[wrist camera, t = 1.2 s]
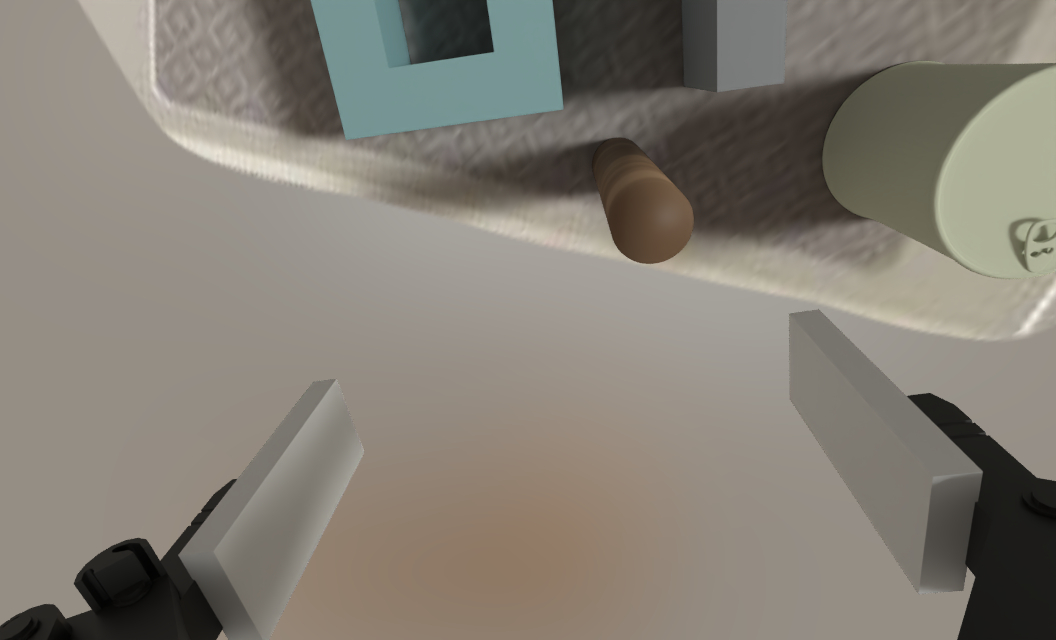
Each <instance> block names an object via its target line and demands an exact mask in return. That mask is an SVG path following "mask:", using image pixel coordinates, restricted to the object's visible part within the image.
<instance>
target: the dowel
mask: <svg viewBox="0 0 1056 640" xmlns="http://www.w3.org/2000/svg"><path fill="white" fill-rule="evenodd" d="M592 169H593V173H594V177H595V180H596V183H597V187H598V190H599V194H600V197H601V200H602V204H603V207H604V211H605V214H606V217H607V221H608V224H609V228H610V231H611V234H612V238H613V241H614V243H615V245H616V246H617V248H618V249H619V250H620V252H621V253H622V254H624V255H625V256H626V257H628V258H629V259H631V260H633V261H636V262H639V263H646V264H653V263H659V262H663V261H666V260H668V259H670V258H672V257H673V256H675V255H676V254H677V253H679V252H680V251H681V250H682V249H683V248H684V246H685V245H686V244H687V242H688V241H689V238H690V236H691V234H692V231H693V225H694V216H693V211H692V208H691V205H690V203H689V201H688V200H687V198H686V197H685V196H684V195H683V194H682V193H681V191H680V190H679V189H678V188H677V187H676V186H675V185H674V184H673V183H672V182H671V181H670V180H669V179H668V178H667V177H666V176H665V175H664V173H663V172H662V171H661V170H660V169H659V168H658V167H657V166H656V165H655V164H654V163H653V162H652V161H651V160H650V159H649V158H648V157H647V155H646V154H645V153H644V152H643V151H642V150H641V149H640V148H639V147H638V146H637V145H636V144H635V143H634V142H632V141H631V140H629V139H626V138H612V139H609V140H607V141H605V142H604V143H603V144H601V145H600V146H599V148H598V149H597V150H596V152H595V154H594V157H593V161H592Z"/></svg>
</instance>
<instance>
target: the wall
mask: <svg viewBox="0 0 1056 640" xmlns="http://www.w3.org/2000/svg"><path fill="white" fill-rule="evenodd" d="M786 23H787V0H682V30H683V72H684V87H690V88H695V89H701V90H707V91H713V92H723V91H730V90H737V89H744V88H751V87H758V86H766V85H773V84H780V83H784V71H785V47H786Z"/></svg>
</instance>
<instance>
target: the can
mask: <svg viewBox="0 0 1056 640" xmlns="http://www.w3.org/2000/svg"><path fill="white" fill-rule="evenodd" d="M822 165H823V173H824V177H825V180H826V183H827V185H828V188H829V190H830V191H831V193H832V195H833V196H834V197H835V199H836V200H837V201H838V202H839V203H840V204H841V205H842V206H843V207H845V208H846V209H848V210H849V211H851V212H852V213H854V214H856V215H859V216H862V217H865V218H869V219H873V220H875V221H877V222H880V223H882V224H884V225H886V226H888V227H890V228H892V229H894V230H896V231H898V232H900V233H902V234H904V235H906V236H908V237H910V238H912V239H914V240H916V241H918V242H921V243H922V244H924V245H926V246H928V247H930V248H932V249H934V250H936V251H938V252H940V253H942V254H944V255H946V256H947V257H949V258H951V259H953V260H955V261H956V262H957V263H958V264H960V265H962V266H963V267H965V268H966V269H968V270H970V271H973V272H975V273H978V274H981V275H984V276H988V277H993V278H1000V279H1025V278H1033V277H1039V276H1043V275H1047V274H1050V273H1054V272H1056V63H1040V64H944V63H940V62H934V61H914V62H908V63H903V64H900V65H896V66H894V67H891V68H888V69H886V70H884V71H882V72H880V73H878V74H876V75H875V76H873V77H871V78H870V79H869V80H867V81H866V82H864V83H863V84H862V85H861V86H859V87H858V88H857V89H856V90H855V91H854V92H853V93H852V94H851V95H850V96H849V97H848V98H847V99H846V101H845V102H844V103H843V104H842V106H841V107H840V108H839V110H838V111H837V113H836V115H835V116H834V118H833V120H832V122H831V124H830V126H829V129H828V132H827V134H826V138H825V142H824V146H823V154H822Z"/></svg>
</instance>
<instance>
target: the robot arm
mask: <svg viewBox="0 0 1056 640" xmlns="http://www.w3.org/2000/svg"><path fill="white" fill-rule="evenodd" d="M789 337H790V338H789V344H790V345H789V352H790V353H789V360H790V400H791V402H792V403H793V405H794V406H795V408H796V409H797V411H798V412H799V414H800V415H801V417H802V418H803V420H804V422H805V423H806V425H807V426H808V428H809V429H810V431H811V432H812V434H813V435H814V437H815V438H816V440H817V441H818V443H819V444H820V446H821V447H822V448H823V450H824V452H825V453H826V455H827V456H828V458H829V459H830V461H831V462H832V464H833V465H834V467H835V468H836V470H837V471H838V473H839V475H840V476H841V477H842V479H843V481H844V482H845V483H846V485H847V487H848V488H849V490H850V491H851V492H852V494H853V496H854V497H855V499H856V500H857V502H858V503H859V505H860V506H861V508H862V509H863V511H864V512H865V514H866V515H867V517H868V518H869V520H870V521H871V523H872V524H873V526H874V528H875V529H876V531H877V532H878V534H879V535H880V537H881V538H882V540H883V541H884V543H885V544H886V546H887V547H888V549H889V550H890V552H891V553H892V555H893V556H894V558H895V559H896V561H897V562H898V563H899V565H900V567H901V568H902V570H903V571H904V573H905V574H906V576H907V577H908V579H909V581H910V582H911V583H912V585H913V587H914V588H915V590H916V591H917V593H918V594H926V593H938V592H951V591H963V589H964V582H965V577H966V571H967V567H968V568H969V569H970V571H971V572H972V573H973V574H974V576H975V581H974V584H973V588H972V591H971V594H970V598H969V601H968V605H967V608H966V611H965V615H964V618H963V622H962V625H961V629H960V632H959V635H958V639H957V640H1056V481H1052V480H1046V479H1040V478H1036V477H1035V476H1034V475H1033V474H1032V473H1031V472H1030V471H1028V470H1027V469H1026V468H1025V467H1024V466H1023V465H1022V464H1021V463H1019V462H1018V461H1017V460H1016V459H1015V458H1014V457H1013V456H1011V455H1010V454H1009V453H1008V452H1007V451H1006V450H1005V449H1004V448H1003V447H1001V446H1000V445H999V444H998V443H997V442H996V441H995V440H994V439H992V438H991V437H990V436H986V433H985V431H983V430H982V429H981V428H980V427H979V426H978V425H976V423H972V420H971V419H970V418H969V417H968V416H967V415H965V414H964V413H963V412H962V411H961V410H960V409H959V408H958V407H956V406H955V405H954V404H952V403H950V402H948V401H945V400H943V399H941V398H939V397H937V396H935V395H933V394H931V393H926V394H918V395H910V396H906V395H905V394H904V393H903V392H902V391H901V390H900V389H899V388H898V387H897V386H896V385H895V384H894V383H893V382H892V381H890V379H889V378H888V377H887V376H886V375H885V374H884V373H883V372H881V370H880V369H879V368H878V367H876V365H874V364H873V363H872V362H871V361H870V360H869V359H868V358H867V357H866V356H865V355H864V354H863V353H862V352H861V351H860V350H859V349H858V348H857V347H856V346H855V345H854V344H853V343H852V342H851V341H850V340H849V339H848V338H847V337H846V336H845V335H844V334H843V333H842V332H841V331H840V330H839V329H838V328H837V327H836V326H835V325H834V324H833V323H832V322H831V321H830V320H829V319H828V318H827V317H826V316H825V315H824V314H823V313H822V312H821V311H820V310H812V311H805V312H798V313H791V314H789ZM363 454H364V450H363V447H362V444H361V442H360V439H359V436H358V434H357V431H356V428H355V426H354V423H353V421H352V418H351V416H350V413H349V410H348V407H347V405H346V402H345V399H344V397H343V394H342V391H341V389H340V386H339V383H338V381H337V379H330V380H324V381H317V382H313V383H312V384H311V385H310V387H309V388H308V389H307V390H306V392H305V393H304V394H303V396H302V397H301V398H300V399H299V401H298V402H297V403H296V405H295V406H294V407H293V408H292V410H291V411H290V412H289V414H288V415H287V416H286V417H285V419H284V420H283V421H282V423H281V424H280V425H279V426H278V428H277V429H276V430H275V432H274V433H273V434H272V435H271V437H270V438H269V439H268V441H267V442H266V443H265V444H264V446H263V447H262V448H261V449H260V451H259V452H258V453H257V455H256V456H255V457H254V458H253V460H252V461H251V462H250V464H249V465H248V466H247V468H246V469H245V470H244V471H243V473H242V474H241V475H240V476H239V478H238V479H233V480H231V481H230V482H229V483H227V484H226V485H225V486H224V487H222V488H221V489H220V490H219V491H218V492H216V493H215V494H214V495H213V496H212V497H211V499H210V500H209V501H208V502H207V504H206V505H205V506H204V508H203V509H202V510H201V511H202V512H201V513H199V514H198V515H197V516H196V517H195V518H194V520H193V521H192V522H191V526H188V527H187V528H186V530H185V531H184V532H183V534H182V535H181V536H180V537H179V538H178V540H177V541H176V542H175V543H174V545H173V546H172V547H171V548H170V550H169V551H168V552H167V553H166V555H165V556H164V557H163V558H162V559H161V561H160V560H159V559H158V557H157V555H156V554H155V552H154V550H153V549H152V547H151V546H150V544H149V543H148V541H147V540H146V539H141V538H135V539H130V540H125V541H123V542H121V543H118V544H116V545H113V546H111V547H110V548H108V549H106V550H105V551H103V552H101V553H100V554H98V555H97V556H95V557H94V558H93V559H92V560H91V561H90V562H88V563H87V564H86V565H85V566H84V567H83V568H82V570H81V571H80V572H79V573H78V575H77V577H76V579H75V582H74V585H75V586H76V588H77V589H78V590H79V592H80V593H81V595H82V596H83V598H84V599H85V600H86V602H87V603H88V605H89V606H90V607H91V609H92V610H90V611H87V612H84V613H81V614H79V615H76V616H73V617H70V618H67V619H65V617H64V616H63V615H62V613H61V612H60V611H59V609H58V608H57V607H56V606H55V605H53V604H44V605H40V606H37V607H33V608H31V609H28V610H26V611H25V612H22V613H20V614H18V615H16V616H14V617H12V618H11V619H10V620H8V621H6V622H5V623H4V624H2V625H1V626H0V640H216V639H217V638H218V635H219V634H220V632H221V631H222V630H223V631H224V633H225V635H226V636H227V638H228V640H269V638H270V637H271V634H272V633H273V631H274V629H275V626H276V625H277V623H278V621H279V619H280V617H281V615H282V613H283V611H284V609H285V607H286V605H287V603H288V601H289V599H290V597H291V595H292V593H293V591H294V589H295V587H296V585H297V583H298V582H299V579H300V578H301V576H302V574H303V572H304V570H305V568H306V566H307V564H308V562H309V560H310V558H311V556H312V554H313V552H314V550H315V548H316V546H317V544H318V542H319V540H320V538H321V536H322V534H323V532H324V530H325V528H326V526H327V525H328V523H329V520H330V519H331V517H332V515H333V513H334V511H335V509H336V507H337V505H338V503H339V501H340V499H341V497H342V495H343V493H344V491H345V489H346V487H347V485H348V483H349V481H350V479H351V477H352V475H353V473H354V471H355V470H356V468H357V465H358V464H359V462H360V460H361V458H362V456H363Z"/></svg>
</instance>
